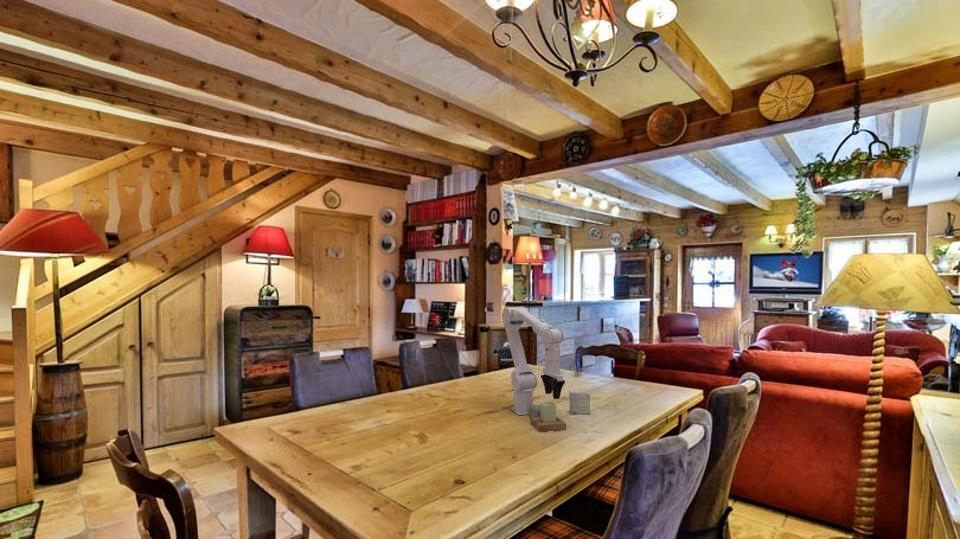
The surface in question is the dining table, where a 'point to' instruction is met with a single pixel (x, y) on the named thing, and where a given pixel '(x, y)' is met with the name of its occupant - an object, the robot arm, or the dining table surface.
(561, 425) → the walnut block
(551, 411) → the sage block
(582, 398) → the medicine box
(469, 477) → the dining table surface
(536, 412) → the grey block
